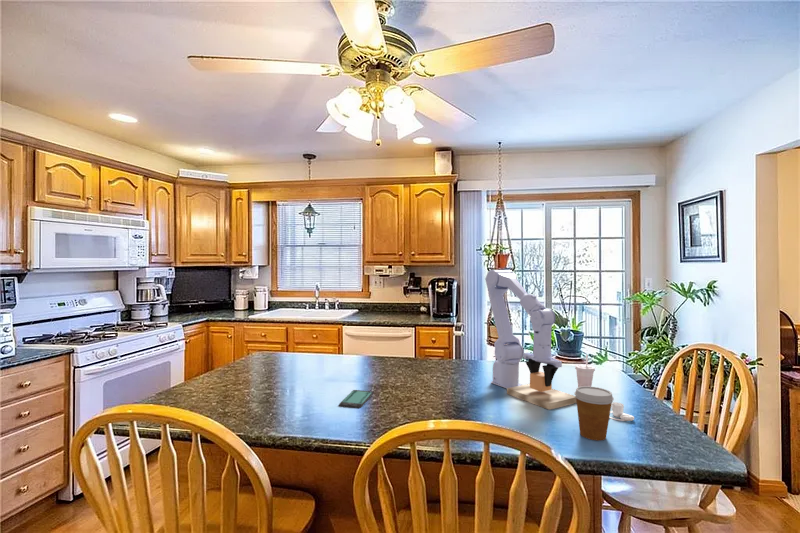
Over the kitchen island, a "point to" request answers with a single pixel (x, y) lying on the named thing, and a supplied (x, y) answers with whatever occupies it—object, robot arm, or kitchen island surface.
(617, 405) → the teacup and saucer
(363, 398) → the smartphone
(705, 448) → the kitchen island surface
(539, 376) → the block
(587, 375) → the smoothie
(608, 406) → the disposable coffee cup
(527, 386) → the base board
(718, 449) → the kitchen island surface
